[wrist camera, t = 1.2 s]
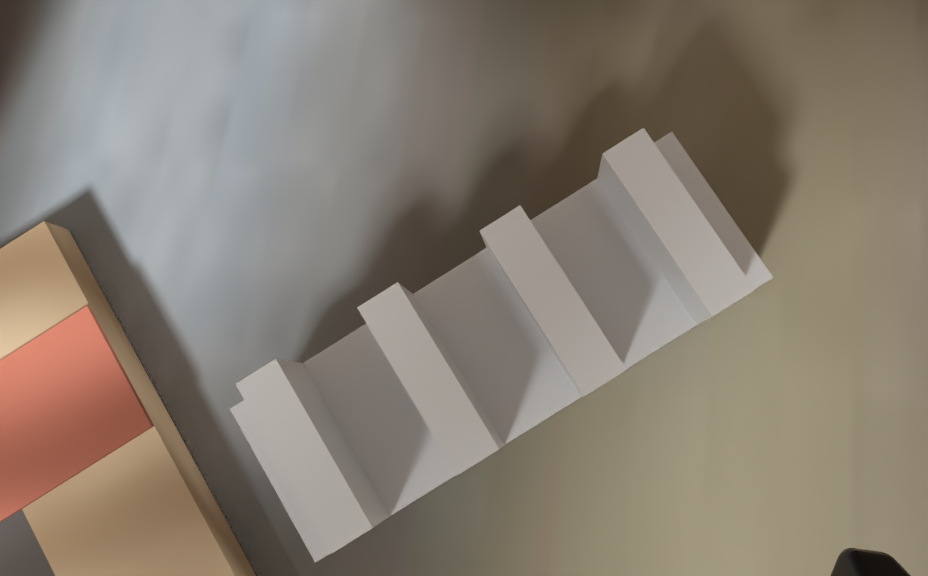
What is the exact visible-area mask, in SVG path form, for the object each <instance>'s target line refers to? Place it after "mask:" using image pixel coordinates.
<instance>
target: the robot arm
mask: <svg viewBox="0 0 928 576" xmlns="http://www.w3.org/2000/svg"><path fill="white" fill-rule="evenodd" d="M831 576H910V575H909V573H908V572H907V571H906V570H905V569H904V568H903V567H902V566H901V565H900V564H899V563H898V562H897V561H896V560H895V559H894V558H893V557H891V556H890V555H888V554H886V553H883V552H878V551H871V550H863V549H856V548H847V549H845V550H843V551H842V552H841V554H840V555H839V557H838V559H837V561H836V564H835V566H834V569H833V571H832V573H831Z"/></svg>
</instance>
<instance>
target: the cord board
mask: <svg viewBox="0 0 928 576" xmlns="http://www.w3.org/2000/svg"><path fill="white" fill-rule="evenodd" d="M0 576H256V574H255V572H254V571H253V569H252V567H251V565H250V563H249V561H248V560H247V558H246V556H245V554H244V552H243V550H242V548H241V547H240V545H239V543H238V541H237V539H236V537H235V536H234V534H233V532H232V530H231V528H230V526H229V524H228V523H227V521H226V519H225V517H224V515H223V513H222V512H221V510H220V508H219V506H218V504H217V502H216V500H215V499H214V497H213V495H212V493H211V491H210V489H209V488H208V486H207V484H206V482H205V480H204V478H203V477H202V475H201V473H200V471H199V469H198V467H197V465H196V464H195V462H194V460H193V458H192V456H191V454H190V453H189V451H188V449H187V447H186V445H185V443H184V441H183V440H182V438H181V436H180V434H179V432H178V430H177V429H176V427H175V425H174V423H173V421H172V419H171V417H170V416H169V414H168V412H167V410H166V408H165V406H164V405H163V403H162V401H161V399H160V397H159V395H158V394H157V392H156V390H155V388H154V386H153V384H152V382H151V381H150V379H149V377H148V375H147V373H146V371H145V370H144V368H143V366H142V364H141V362H140V360H139V358H138V357H137V355H136V353H135V351H134V349H133V347H132V346H131V344H130V342H129V340H128V338H127V336H126V334H125V333H124V331H123V329H122V327H121V325H120V323H119V322H118V320H117V318H116V316H115V314H114V312H113V311H112V309H111V307H110V305H109V303H108V301H107V299H106V298H105V296H104V294H103V292H102V290H101V288H100V287H99V285H98V283H97V281H96V279H95V277H94V275H93V274H92V272H91V270H90V268H89V266H88V264H87V263H86V261H85V259H84V257H83V255H82V253H81V252H80V250H79V248H78V246H77V244H76V242H75V240H74V239H73V237H72V235H71V233H70V231H69V230H68V229H65V228H62V227H60V226H57V225H54V224H51V223H48V222H46V221H43V222H42V223H40V224H38V225H37V226H35V227H34V228H32V229H31V230H29V231H27V232H26V233H24V234H23V235H21V236H20V237H18V238H16V239H15V240H13V241H12V242H10V243H8V244H7V245H5V246H4V247H2V248H1V249H0Z"/></svg>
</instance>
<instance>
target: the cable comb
mask: <svg viewBox="0 0 928 576" xmlns="http://www.w3.org/2000/svg"><path fill="white" fill-rule="evenodd" d="M480 234H481V236H482V238H483V241H484V243H485V245H486V247H487V248H485V249H484V250H482V251H480V252H479V253H477V254H476V255H474V256H472V257H471V258H469V259H468V260H466V261H465V262H463V263H461V264H460V265H458V266H457V267H455V268H453V269H452V270H450V271H449V272H447V273H445V274H444V275H442V276H441V277H439V278H437V279H436V280H434V281H433V282H431V283H429V284H428V285H426V286H425V287H423V288H422V289H420V290H418V291H417V292H415V293H414V294H412V293H411V292H410V291H408V290H407V289H406V288H405V287H403V286H402V285H401V284H400V283H398V282H397V283H395V284H394V285H392V286H390V287H389V288H387V289H386V290H384V291H383V292H381V293H379V294H378V295H376V296H375V297H373V298H371V299H370V300H368V301H367V302H365V303H363V304H362V305H360V306H359V307H357V309H358V310H359V312H360V314H361V315H362V317H363V319H364V320H365V322H366V324H364V325H363V326H361V327H359V328H358V329H356V330H355V331H353V332H351V333H350V334H348V335H347V336H345V337H343V338H342V339H340V340H339V341H337V342H335V343H334V344H332V345H331V346H329V347H327V348H326V349H324V350H323V351H321V352H320V353H318V354H316V355H315V356H313V357H312V358H310V359H308V360H307V361H305V362H304V363H300V362H293V361H287V360H281V359H274V360H273V361H271V362H269V363H268V364H266V365H265V366H263V367H262V368H260V369H258V370H257V371H255V372H254V373H252V374H250V375H249V376H247V377H246V378H244V379H242V380H241V381H239V382H238V383H236V384H235V385H236V386H237V388H238V390H239V392H240V394H241V395H242V397H243V399H244V400H243V401H241V402H240V403H238V404H237V405H235V406H233V407H232V408H230V410H231V412H232V414H233V416H234V418H235V419H236V421H237V423H238V425H239V427H240V428H241V430H242V432H243V434H244V436H245V437H246V439H247V441H248V443H249V445H250V446H251V448H252V450H253V452H254V454H255V455H256V457H257V459H258V461H259V463H260V464H261V466H262V468H263V470H264V472H265V473H266V475H267V477H268V479H269V481H270V482H271V484H272V486H273V488H274V490H275V491H276V493H277V495H278V497H279V499H280V500H281V502H282V504H283V506H284V508H285V509H286V511H287V513H288V515H289V517H290V518H291V520H292V522H293V524H294V525H295V527H296V529H297V531H298V533H299V534H300V536H301V538H302V540H303V542H304V543H305V545H306V547H307V549H308V551H309V552H310V554H311V556H312V558H313V560H314V561H315V563H316V562H317V561H319V560H320V559H322V558H324V557H325V556H327V555H329V554H332V553H334V552H335V551H337V550H338V549H340V548H342V547H343V546H345V545H346V544H348V543H350V542H351V541H353V540H354V539H356V538H358V537H359V536H361V535H362V534H364V533H366V532H367V531H369V530H370V529H372V528H374V527H375V526H377V525H378V524H379V523H381V522H382V521H384V520H385V519H387V518H388V517H390V516H391V515H393V514H394V513H396V512H398V511H399V510H401V509H402V508H404V507H406V506H407V505H409V504H410V503H412V502H414V501H415V500H417V499H418V498H420V497H422V496H423V495H425V494H426V493H428V492H430V491H431V490H433V489H434V488H436V487H438V486H439V485H441V484H443V483H444V482H446V481H447V480H449V479H451V478H452V477H454V476H455V475H459V474H460V473H462V472H464V471H465V470H467V469H468V468H470V467H472V466H473V465H475V464H476V463H478V462H480V461H481V460H483V459H484V458H486V457H488V456H489V455H491V454H493V453H494V452H496V451H497V450H499V449H500V448H501V447H503V446H504V445H505V444H507V443H508V442H510V441H512V440H513V439H515V438H516V437H518V436H520V435H521V434H523V433H524V432H526V431H528V430H529V429H531V428H532V427H534V426H536V425H537V424H539V423H540V422H542V421H544V420H545V419H547V418H548V417H550V416H552V415H553V414H555V413H556V412H558V411H560V410H561V409H563V408H565V407H566V406H568V405H569V404H571V403H573V402H574V401H576V400H577V399H579V398H581V397H584V396H586V395H587V394H589V393H590V392H592V391H594V390H595V389H597V388H598V387H600V386H602V385H603V384H605V383H606V382H608V381H610V380H611V379H613V378H615V377H616V376H618V375H619V374H621V373H623V372H624V371H626V370H627V368H629V367H630V366H632V365H634V364H635V363H637V362H638V361H640V360H642V359H643V358H645V357H646V356H648V355H650V354H651V353H653V352H654V351H656V350H658V349H659V348H661V347H662V346H664V345H666V344H667V343H669V342H670V341H672V340H674V339H675V338H677V337H678V336H680V335H682V334H683V333H685V332H687V331H688V330H690V329H691V328H693V327H695V326H696V325H698V324H700V323H702V322H703V321H705V320H707V319H709V318H711V317H712V316H714V315H716V314H717V313H719V312H720V311H722V310H724V309H725V308H727V307H729V306H730V305H732V304H733V303H735V302H737V301H738V300H740V299H741V298H743V297H745V296H746V295H748V294H749V293H751V292H753V291H754V290H755V289H756V288H757V287H759V286H760V285H762V284H764V283H765V282H767V281H768V280H770V279H772V278H773V276H772V275H771V274H770V272H769V271H768V269H767V268H766V266H765V265H764V263H763V262H762V261H761V259H760V258H759V256H758V255H757V253H756V252H755V250H754V249H753V248H752V246H751V245H750V243H749V242H748V240H747V239H746V237H745V236H744V235H743V233H742V232H741V230H740V229H739V227H738V226H737V225H736V223H735V222H734V220H733V219H732V217H731V216H730V214H729V213H728V212H727V210H726V209H725V207H724V206H723V204H722V203H721V201H720V200H719V199H718V197H717V196H716V194H715V193H714V191H713V190H712V188H711V187H710V186H709V184H708V183H707V181H706V180H705V178H704V177H703V175H702V174H701V173H700V171H699V170H698V168H697V167H696V165H695V164H694V163H693V161H692V160H691V158H690V157H689V155H688V154H687V152H686V151H685V150H684V148H683V147H682V145H681V144H680V142H679V141H678V139H677V138H676V137H675V135H674V134H673V132H670V133H668V134H667V135H665V136H664V137H662V138H661V139H659V140H657V141H656V142H653V141H652V139H651V138H650V136H649V135H648V133H647V132H646V131H645V129H644V128H642V129H640V130H639V131H637V132H636V133H634V134H633V135H631V136H629V137H628V138H626V139H625V140H623V141H621V142H620V143H618V144H617V145H615V146H613V147H612V148H610V149H609V150H607V151H605V152H604V153H602V158H601V163H600V168H599V173H598V178H597V179H595V180H594V181H592V182H590V183H589V184H587V185H586V186H584V187H582V188H581V189H579V190H578V191H576V192H574V193H573V194H571V195H570V196H568V197H567V198H565V199H563V200H562V201H560V202H559V203H557V204H555V205H554V206H552V207H551V208H549V209H547V210H546V211H544V212H543V213H541V214H539V215H538V216H536V217H535V218H533V219H531V220H530V219H529V218H528V216H527V215H526V213H525V212H524V210H523V209H522V207H521V205H519V206H518V207H516V208H515V209H513V210H512V211H510V212H508V213H507V214H505V215H504V216H502V217H500V218H499V219H497V220H496V221H494V222H492V223H491V224H489V225H488V226H486V227H484V228H483V229H481V230H480Z"/></svg>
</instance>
